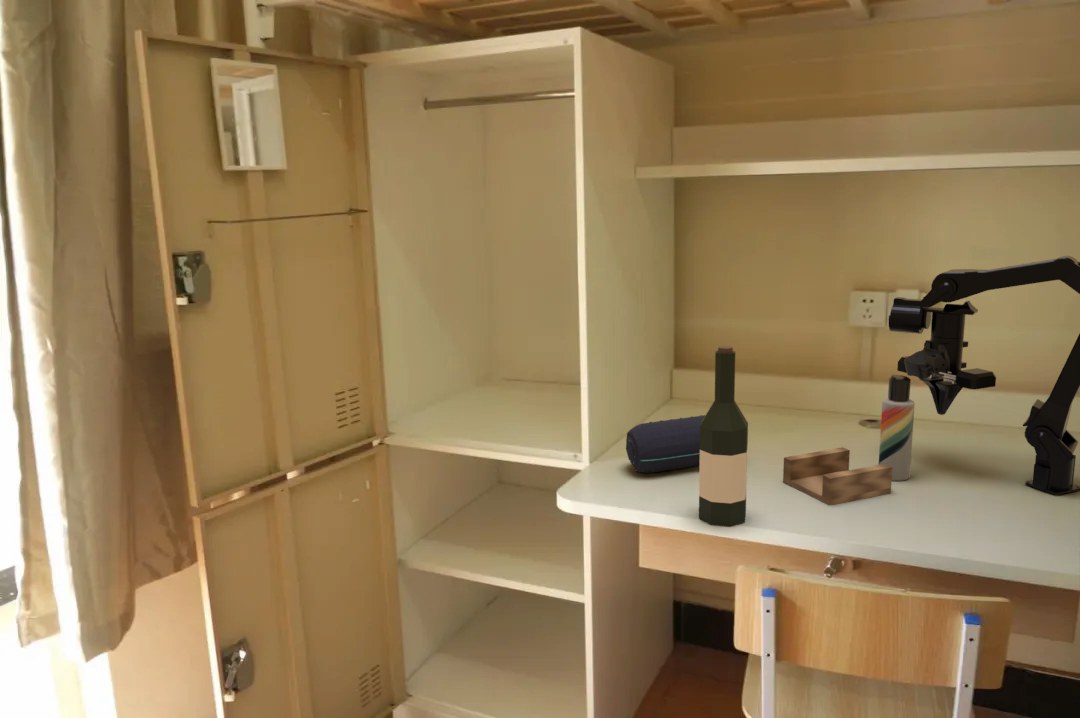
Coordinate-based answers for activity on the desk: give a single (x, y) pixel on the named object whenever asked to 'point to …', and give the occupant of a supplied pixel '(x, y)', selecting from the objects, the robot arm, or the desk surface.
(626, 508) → the desk surface
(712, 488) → the wine bottle
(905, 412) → the lotion bottle
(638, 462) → the portable speaker
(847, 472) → the cradle
